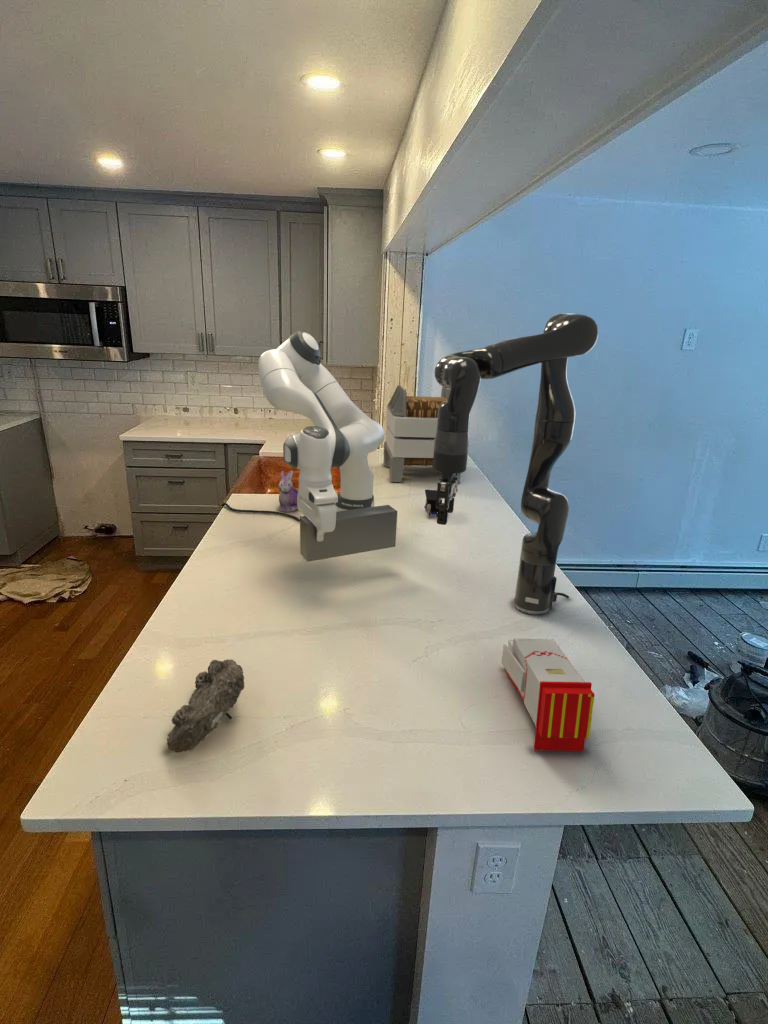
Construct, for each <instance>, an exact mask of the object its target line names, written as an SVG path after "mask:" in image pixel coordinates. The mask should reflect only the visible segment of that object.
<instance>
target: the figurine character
mask: <svg viewBox="0 0 768 1024" xmlns="http://www.w3.org/2000/svg"><path fill="white" fill-rule="evenodd" d="M424 494H425V501H424V509H425V512H426V513H427V514H428V517H429V518H431V517H432V515H435V518H437V514H438V508H436V506H435V505H436V498H437V489H424ZM441 503H443V499H442V500H441Z"/></svg>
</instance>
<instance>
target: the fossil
mask: <svg viewBox="0 0 768 1024" xmlns="http://www.w3.org/2000/svg"><path fill="white" fill-rule="evenodd" d="M243 670H244V669H243V667H242V665H240V664H237V662H236V661H235V660H234V659H232V658H231V659H227V658H226V659H224V660H223V661H222V660H217V659H212V660H211V661H210V663H209V665H208V666H207V671H201V672H199V673H198V674H197V675H196V676H195V680H194V684H195V685H194V687H195V689H194V690H193V693H192V694H191V697H190V698H189V700H188V704H184V705H182V706H181V707H180V709H177V710H176V711H175V713H174V715H173V716H172V718H171V723H172V724H173V727H172V730H171V731H170V732H168V734H167V738H166V741H167V742H166V745H167V749H168V750H169V751H173V752H174V753H176V754H178V753H182V752H188V751H189V752H192V751H193V750H195V748H196V747H197V746H199V744H200V743H201V742H203V741H204V740H205V739H206V738H207V737H208V736H209V735H210V734H211V733H212V732H214V730H215V729H217V727H218V726H219V724H220V722H221V721H222V720H223V719H224V718H225V716H226V717H227V719H229V720H233V717H232V715H230V714H229V710H230V709H231V708H234V706H235V704H236V703H237V702H238V699H239V697H240V695H241V693H242V691H243V690H245V689H244V688H245V675H244V671H243Z"/></svg>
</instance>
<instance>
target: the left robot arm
mask: <svg viewBox="0 0 768 1024" xmlns="http://www.w3.org/2000/svg"><path fill="white" fill-rule="evenodd" d="M321 361H322V359H321V347H320V345H319V343H318V341H317V340H316V339H315V338H314V336H312V335H311V334H310V333H309V332H307V331H304V330H298V331H295V332H294V333H293V334H290V335H289V337H288V338H287V339H286V340H285V341H283V342H282V343H281V344H280V345H279V346H278V347H277V348H271V349H268V350H266V351H264V352H263V353H262V354H260V356H259V358H258V362H257V367H258V369H257V370H258V375H259V376H258V377H259V381H260V383H261V388H262V391H263V394H264V395H265V398H266V400H267V401H268V403H269V405H271V406H272V407H273V408H274V409H277V410H280V411H282V412H288V413H292V414H298V415H301V416H304V417H306V418H308V419H309V420H311V422H312V423H313V425H309V426H306V427H303V428H302V429H301V430H300V432H298V433H295V434H291V435H289V436H288V437H287V438H286V439H285V440H284V442H283V444H282V445H283V446H282V447H283V448H282V449H283V454H282V455H283V461H284V462H285V463H286V464H287V466H289V467H290V468H292V469H294V470H296V469H297V470H299V474H298V488H297V491H298V496H297V507H298V509H297V510H298V511H299V512H300V514H302V516H306V517H307V518H308V519H309V520H310V521H311V522H312V523H313V525H315V526H316V527H317V534H316V540H317V541H318V542H320V541H323V538H324V533H326V532H332V531H334V529H335V525H336V512H338V511H345V510H353V509H360V508H368V507H375V496H374V473H373V471H372V470H371V469H370V466H369V460H368V456H369V454H370V453H372V452H374V451H376V450H377V449H378V448H380V446H381V445H382V444H383V443H384V441H385V430H384V427H383V425H381V423H380V422H378V421H375V420H374V419H372V418H371V417H369V416H368V415H367V414H366V413H365V412H364V411H362V409H360V408H359V407H358V406H357V405H356V404H355V402H353V401H352V399H350V397H349V396H348V395H347V393H346V392H345V390H344V389H343V387H341V385H340V383H339V382H338V380H336V378H335V377H334V376H333V375H332V373H331V372H330V371H329V370H328V369H327V368H326V367H325V366H324V365H323V364H322V362H321ZM332 468H339V476H340V488H339V489H340V490H339V491H338V492H336V490H335V488H334V484H333V476H332ZM225 506H226V507H227V508H228V510H229V511H232V512H238V513H254V514H273V515H274V514H275V515H280V516H285V517H288V518H291V519H294V520H295V521H297V522H299V523H300V517H297V516H296V515H292V514H290V513H287V512H283V511H276V510H256V509H255V510H254V509H238V508H234V507H232V506H231V505H229V503H227V502H223V503H222V504H221V507H225Z"/></svg>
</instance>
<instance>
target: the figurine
mask: <svg viewBox="0 0 768 1024" xmlns="http://www.w3.org/2000/svg"><path fill="white" fill-rule="evenodd" d="M293 475H294V471H293V470H292V469H291V470H289V471H288V473H286V472H285V470H281V472H280V481H279V482H278V490H279V491H280V492H279V494H278V502H279V503H278V504H279V506H278V507H279V508H278V509H279V512H283V513H288V512H294V511H297V510H298V507H297V496H298V489H296V488H294V484H293V482H292V479H293Z"/></svg>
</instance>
